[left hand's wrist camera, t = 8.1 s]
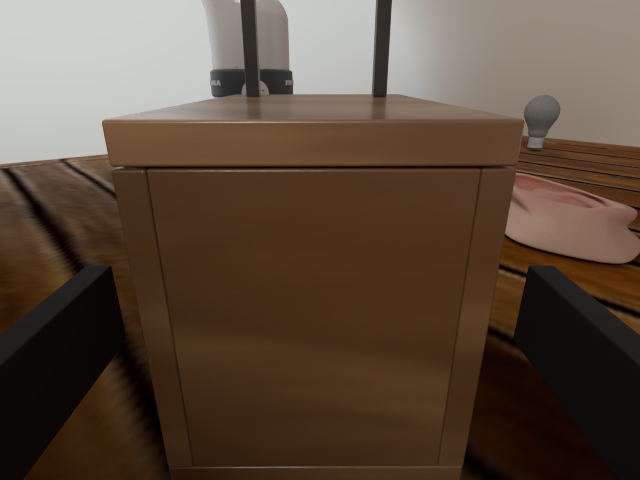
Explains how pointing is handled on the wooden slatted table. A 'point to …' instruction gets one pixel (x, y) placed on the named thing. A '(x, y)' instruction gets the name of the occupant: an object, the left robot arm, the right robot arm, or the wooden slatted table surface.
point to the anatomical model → (570, 222)
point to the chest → (314, 314)
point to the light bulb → (540, 118)
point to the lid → (313, 125)
